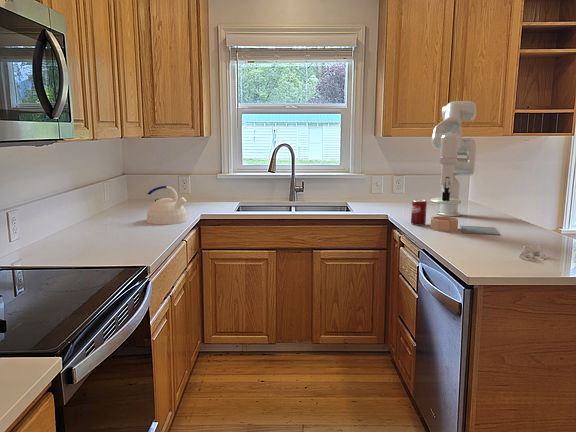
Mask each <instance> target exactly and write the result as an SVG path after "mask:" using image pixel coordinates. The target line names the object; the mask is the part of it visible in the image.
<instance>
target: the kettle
mask: <svg viewBox="0 0 576 432" xmlns="http://www.w3.org/2000/svg"><path fill="white" fill-rule="evenodd" d="M162 189H168V190H170V191H171V192H172V195H173V198H171V197H165V198H164V197H163V198H155V200H154V202H153V203H152V204H151V205H150V206H149V208H148V211H147V213H146V222H147V223H148V224H149V225H150V224H151V225H163V226H164V225H165V226H166V225H177V224H179V225H180V224H183V223H185V222H187V221H188V217H187V210H186V209H185V207H184V205H185V203H187V199H186V198H185V197H183V196H182V197H181V198H179V197H178V196H179V195H178V192H177V191H176V190H175V188H174V187H172V186H168V185H162V186H157V187H154V188H153V189H151V190H149V191H148V193H147V195H152V194H153V193H154V192H156V191H158V190H162Z"/></svg>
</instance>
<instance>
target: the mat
mask: <svg viewBox="0 0 576 432" xmlns="http://www.w3.org/2000/svg"><path fill="white" fill-rule="evenodd" d="M459 228H460V230H461V233H462V234H468V235H469V234H472V235H473V234H474V235H488V236H489V235H490V236H500V235H501V234H500V232H499V231H498V229H497V227H495V226H480V225H479V226H478V225H477V226H476V225H461V224H460V225H459Z"/></svg>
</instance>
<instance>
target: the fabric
mask: <svg viewBox="0 0 576 432" xmlns="http://www.w3.org/2000/svg"><path fill="white" fill-rule="evenodd" d="M541 248H542V245H541V244H524V245H523V248H522V249H521V250H520V253H519V259H522V260H525V261H530V260H531V261H532V262H534V261H535V259H536V260H540V261H541V262H542V261H545V260H547V258H548V255H547V254H546V253H545V252H543V251H542V249H541Z"/></svg>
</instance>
